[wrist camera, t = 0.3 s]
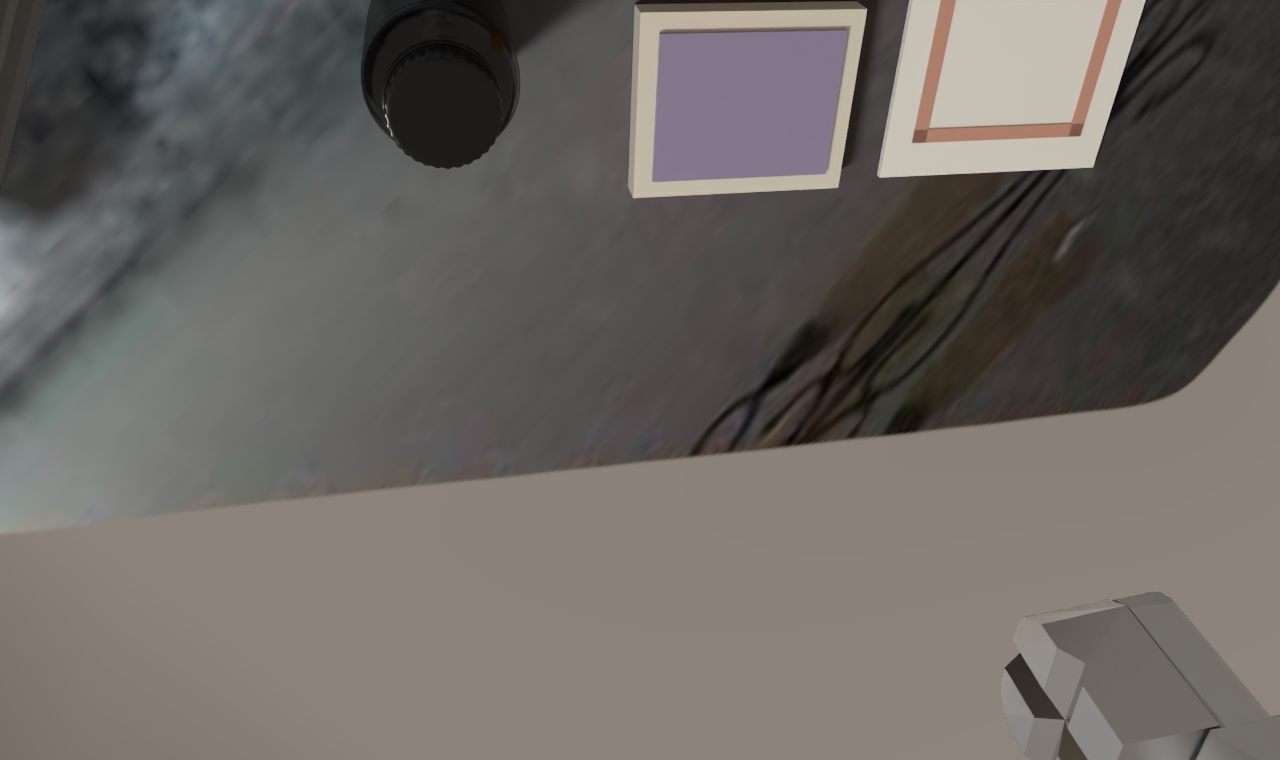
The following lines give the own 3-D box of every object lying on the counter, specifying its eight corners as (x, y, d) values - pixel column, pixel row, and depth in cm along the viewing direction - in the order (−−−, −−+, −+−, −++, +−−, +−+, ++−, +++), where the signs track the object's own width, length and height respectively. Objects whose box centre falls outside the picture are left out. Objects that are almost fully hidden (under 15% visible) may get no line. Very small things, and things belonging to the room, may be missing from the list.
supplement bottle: (473, -67, 48) (495, 2, 39) (525, 66, 52) (556, 158, 43) (339, -15, 49) (327, 67, 39) (401, 114, 53) (404, 216, 43)
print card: (940, -168, 50) (945, -167, 50) (1191, -164, 53) (1198, -162, 52) (877, 174, 60) (880, 178, 60) (1089, 164, 63) (1093, 167, 62)
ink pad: (634, 4, 52) (641, 14, 50) (856, 1, 54) (869, 10, 53) (628, 186, 57) (634, 200, 56) (829, 177, 60) (839, 189, 58)
